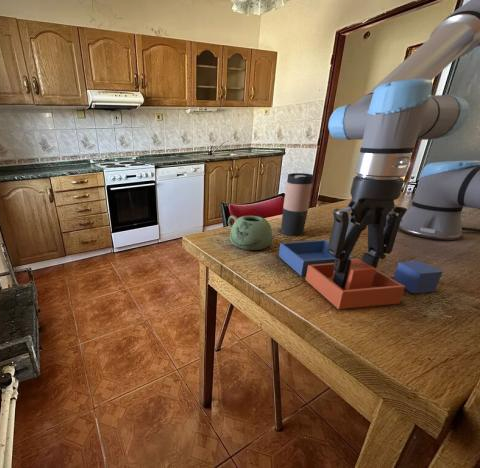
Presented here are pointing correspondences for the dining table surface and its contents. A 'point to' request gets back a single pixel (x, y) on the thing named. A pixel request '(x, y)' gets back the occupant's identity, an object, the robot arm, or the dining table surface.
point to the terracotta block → (359, 275)
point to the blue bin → (306, 254)
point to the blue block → (417, 276)
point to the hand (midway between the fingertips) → (350, 282)
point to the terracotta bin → (378, 294)
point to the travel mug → (296, 203)
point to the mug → (250, 232)
